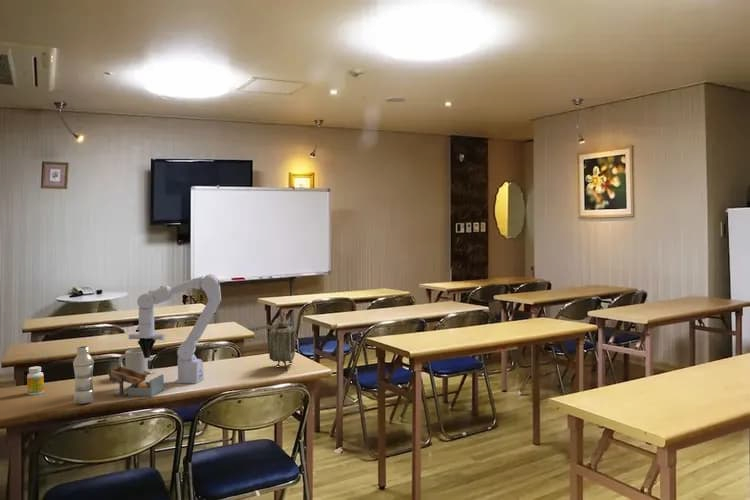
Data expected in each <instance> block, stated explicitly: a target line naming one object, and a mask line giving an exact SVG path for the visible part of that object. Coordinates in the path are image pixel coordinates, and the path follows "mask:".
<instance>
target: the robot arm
mask: <svg viewBox="0 0 750 500" xmlns="http://www.w3.org/2000/svg"><path fill="white" fill-rule="evenodd" d="M191 289H196V290H201V289H202V291H203V292H204V293H205V294H206V297H207V302H206V305H205V306H204V308H203V309H202V311H201V313H200V315H199V316H198V319H197V320H196V322H195V324H194V326H193V327H192V329H191V331H190V332H189V334H188V335H187V337H186V339H185V340H184V341H182V343H181V344H180V346H178V348H177V351H176V354H177V379H176V380H174V381H173V383H174V384H175V383H176V384H197V383H200V381H202V380H203V379H205V377H204V362H203V360H202V359H201V358H197V356H196V355H195V352H196V350H197V344H198V342H199V341H200V339H201V337H202V335H203V333H204V332H205V331H206V328H207V327H208V325H209V323H210V321H211V320H212V318H213V316H214V314H215V312H216V311H217V309H218V307H219V305H220V303H221V301H222V294H221V284H220V280H219V278H218V277H217V276H216V275H215V274H207V275H205V276H204V275H203V276H198V277H194V278H191V279H189V280H185V281H184V282H181V283H179V284H177V285H176V284H175V285H174V286H169V285H164V284H163V285H160V286H159V288H157V289H154V290H152V289H151V290H148V291H147V292H145V293H142V294H141V295H139V296H138V298H137V301H136V304H137V306H138V333H128V340H138V341H137V344H138V345H139V347H140V349H142V351H143V355H144V358H147V359H149V358H151V354H152V350H153V348H154V344H155V343H156V341H157V340H159V341H163V340H164V341H165V340H166V334H161V333H155V310H154V309H155V307H154V305H159V304H162V303H164V302H167V301H169V300H172V299H173V297H174V296H175V295H176V294H179V293H183V292H185V291H189V290H191Z"/></svg>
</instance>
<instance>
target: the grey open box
mask: <svg viewBox="0 0 750 500" xmlns="http://www.w3.org/2000/svg"><path fill="white" fill-rule="evenodd" d="M164 380H165V379H164V374H160V375H158V376H156V377H155V378H153V379H150V380H149V381H144V382H145V383H146V384H147V388H137V385H138V384H139V383H138V384H136V385H134V384H133V385H132V384H131V385H129V386H128V396H127V397H142V398H143V397H147V398H152V397H154V396H156V395H158V394H160V393H161V392H163V391H164V389H165V387H164V386H165V382H164Z"/></svg>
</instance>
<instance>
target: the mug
mask: <svg viewBox="0 0 750 500" xmlns="http://www.w3.org/2000/svg"><path fill="white" fill-rule="evenodd" d="M123 359H125V361H124V362H125V366H124V365H123ZM120 366H121V367H124V368H127V369H130V370H133V371H136V372H139V373H143V372H144V371H145V370H147V369H149V368H148V367H149V366H148V358H144V355H143V351H142V349H141V348H133V349H128V350H126V351H124V353H123V354H121V355H120V356H119V358H118V367H120ZM147 377H149V374H148V375H146V378H147Z"/></svg>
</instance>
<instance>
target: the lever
mask: <svg viewBox="0 0 750 500" xmlns="http://www.w3.org/2000/svg"><path fill="white" fill-rule="evenodd" d="M124 367H125V366H124ZM124 367H121V366H118V367H115V368H113V369H111V370H109V373H108V377H109V378H108V381H110V382H112V383H115V382H116V381H117V380H118V379H119V378H123V382H125V383H128V384H131V385H132V384H134V385H136V384H138V383H140V382H146V379H147V377H146V375H148V376H149V375H150V376H151V375H153V374H155V373H156V370H152V369H149V368H148V369H147V370H145V371H144V372H143V373H139V372H136V371H133V370H130V369H127V368H124ZM117 382H118V381H117Z"/></svg>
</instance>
